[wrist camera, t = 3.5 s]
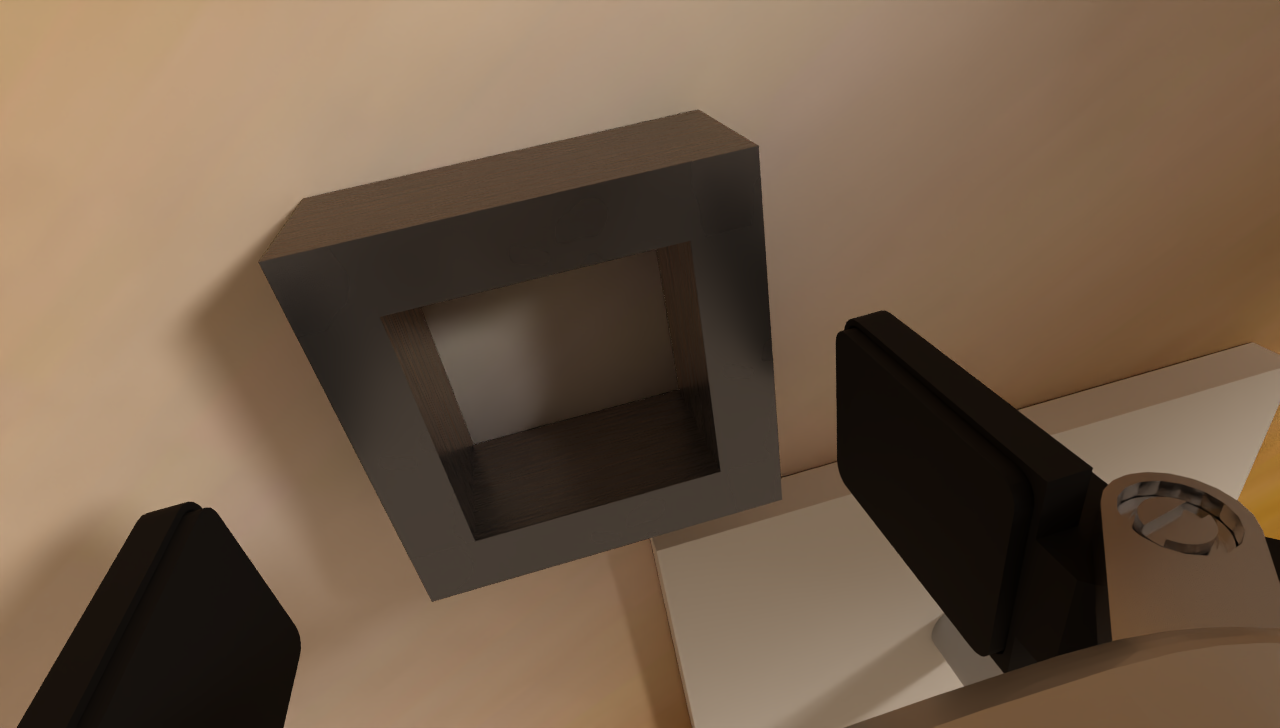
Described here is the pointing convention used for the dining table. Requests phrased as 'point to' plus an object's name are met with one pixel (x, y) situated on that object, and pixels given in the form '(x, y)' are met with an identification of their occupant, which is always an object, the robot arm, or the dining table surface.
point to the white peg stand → (882, 582)
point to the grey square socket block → (520, 251)
